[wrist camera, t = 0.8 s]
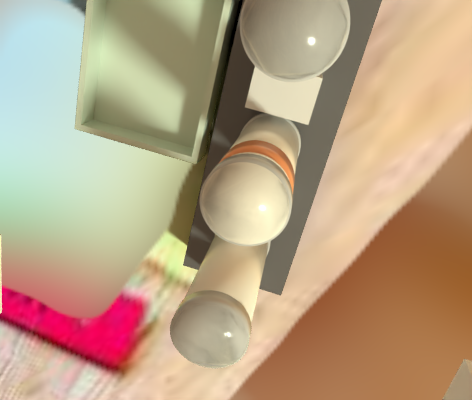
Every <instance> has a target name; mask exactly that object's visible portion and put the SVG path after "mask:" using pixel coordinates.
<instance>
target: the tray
mask: <svg viewBox="0 0 472 400" xmlns="http://www.w3.org/2000/svg"><path fill="white" fill-rule="evenodd" d="M238 5H239V0H87V3H86V14H85V25H84V36H83V46H82V56H81V66H80V78H79V88H78V98H77V109H76V120H75V129H77V130H80V131H83V132H87V133H90V134H94V135H97V136H101V137H104V138H107V139H111V140H114V141H118V142H121V143H125V144H128V145H131V146H135V147H138V148H142V149H145V150H149V151H152V152H156V153H159V154H162V155H166V156H169V157H173V158H177V159H180V160H183V161H186V162H190V163H193V164H197V163H198V162H199V161H200V160H201V159H202V157H203V156H204V155H205V153H206V149H207V144H208V140H209V135H210V131H211V126H212V122H213V117H214V113H215V108H216V104H217V99H218V95H219V90H220V86H221V81H222V77H223V72H224V68H225V63H226V59H227V54H228V50H229V45H230V41H231V36H232V32H233V27H234V23H235V18H236V14H237V9H238Z"/></svg>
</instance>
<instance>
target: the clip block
mask: <svg viewBox="0 0 472 400" xmlns="http://www.w3.org/2000/svg"><path fill="white" fill-rule="evenodd" d="M381 1H382V0H347V2H348V6H349V10H350V30H349V35H348V39H347V42H346V45H345V47H344V49H343V51H342V53H341V54H340V56H339V57H338V59H337V60H336V61H335V62H334V63H333V65H332V66H331V67H329V68H328V69H327V70H326V71H325V72H323V73H322V74H320V75H318V76H316V77H314V78H312V79H309V80H306V81H301V82H284V81H279V80H276V79H273V78H271V77H269V76H267V75H266V74H264V73H263V72H261V71H260V70H259V69H258V68H257V67H256V66H255V65H254V64H253V63H252V62H251V60H250V59H249V57H248V56H247V54H246V52H245V50H244V47H243V44H242V40H241V35H240V17H241V11H242V8H243V5H244V2H245V0H243V2H242V7H241V11H240V15H239V20H238V24H237V29H236V33H235V38H234V42H233V47H232V51H231V55H230V60H229V64H228V69H227V73H226V78H225V82H224V86H223V91H222V95H221V100H220V104H219V109H218V113H217V117H216V122H215V126H214V131H213V135H212V140H211V144H210V148H209V153H208V157H207V162H206V166H205V171H204V175H203V179H202V184H201V188H200V192H201V189H202V186H203V184H204V182H205V180H206V178H207V177H208V176H209V174H210V173H211V171H212V170H213V169H214V168H215V167H216V165H218V163H219V162H220V161H221V159H222V158H223V157H224V155H225V154H226V153H227V152H228V151H229V150H230V148H231V147H232V145H233V144H234V143H235V141H236V140H237V138H238V137H239V136H240V134H241V131H242V129H243V128H244V126H245V125H246V124H247V122H248V121H249V120H250V119H251V118H252V117H254V116H255V115H257V114H259V113H262V112H264V113H267V114H271V115H274V116H278V117H282V118H285V119H289V120H292V121H294V122H295V124H296V125H297V127H298V129H299V131H300V135H301V148H300V153H299V156H298V158H297V165H296V171H295V182H294V189H293V201H292V209H291V214H290V218H289V221H288V223H287V225H286V227H285V228H284V230H283V231H282V232H281V233H280V234H279V235H278V236H277V237H276V238H274V239H273V240H271V244H270V248H269V252H268V254H267V256H266V260H265V265H264V269H263V274H262V278H261V282H260V287H259V289H262V290H265V291H268V292H272V293H275V294H278V295H281V294H282V291H283V288H284V285H285V282H286V279H287V276H288V273H289V270H290V267H291V264H292V261H293V258H294V256H295V253H296V250H297V247H298V244H299V241H300V238H301V235H302V232H303V229H304V226H305V223H306V220H307V218H308V215H309V212H310V209H311V206H312V203H313V200H314V197H315V194H316V191H317V188H318V185H319V182H320V180H321V177H322V174H323V171H324V168H325V165H326V162H327V159H328V156H329V153H330V150H331V147H332V144H333V142H334V139H335V136H336V133H337V130H338V127H339V124H340V121H341V118H342V115H343V112H344V109H345V106H346V104H347V101H348V98H349V95H350V92H351V89H352V86H353V83H354V80H355V77H356V74H357V71H358V68H359V66H360V63H361V60H362V57H363V54H364V51H365V48H366V45H367V42H368V39H369V36H370V33H371V31H372V28H373V25H374V22H375V19H376V16H377V13H378V10H379V7H380V4H381ZM214 237H215V233H214V232H213V231H212V230H211V229H210V228H209V226H208V225H207V224H206V222H205V220H204V218H203V216H202V213H201V209H200V193H199V197H198V202H197V206H196V210H195V215H194V219H193V224H192V228H191V233H190V237H189V242H188V246H187V250H186V255H185V259H184V264H183V265H184V266H187V267H191V268H194V269H197V270H199V268H200V266H201V264H202V262H203V260H204V258H205V256H206V254H207V251H208V249H209V247H210V245H211V243H212V241H213V239H214Z"/></svg>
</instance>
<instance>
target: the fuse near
mask: <svg viewBox="0 0 472 400" xmlns="http://www.w3.org/2000/svg"><path fill="white" fill-rule="evenodd" d="M349 30H350V10H349V6H348V2H347V0H245V2H244V5H243V8H242V11H241V17H240V35H241V40H242V44H243V47H244V50H245V52H246V54H247V56H248V57H249V59H250V60H251V62H252V63H253V64H254V65H255V66H256V67H257V68H258V69H259V70H260V71H261V72H263V73H264V74H266V75H267V76H269V77H271V78H273V79H276V80H279V81H284V82H301V81H306V80H309V79H312V78H314V77H316V76H318V75H320V74H322V73H323V72H325V71H326V70H327V69H328V68H329V67H331V66H332V65H333V63H334V62H335V61H336V60H337V59H338V57H339V56H340V54H341V53H342V51H343V49H344V47H345V45H346V42H347V39H348V35H349Z"/></svg>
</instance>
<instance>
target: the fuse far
mask: <svg viewBox="0 0 472 400" xmlns="http://www.w3.org/2000/svg"><path fill="white" fill-rule="evenodd" d="M270 244H271V241H269V242H267V243H264V244H261V245H257V246H239V245H235V244H232V243H229V242H227V241H225V240H223V239H222V238H220V237H219V236H217V235H216V234H215V237H214V239H213V241H212V243H211V245H210V247H209V249H208V251H207V254H206V256H205V258H204V260H203V262H202V264H201V266H200V268H199V270H198V272H197V274H196V276H195V278H194V280H193V282H192V284H191V286H190V288H189V290H188V292H187V294H186V296H185V298H184V300H183V301H182V302H181V303H180V305H179V307H178V309H177V311H176V313H175V315H174V317H173V319H172V321H171V325H170V335H171V339H172V342H173V344H174V346H175V347H176V349H177V350H178V351H179V353H180V354H181V355H182V356H184V357H185V358H186V359H187V360H189V361H191V362H192V363H194V364H197V365H199V366H202V367H207V368H224V367H228V366H231V365H233V364H235V363H236V362H238V361H239V360H240V359H241V358H242V357H243V356H244V354H245V353H246V350H247V348H248V343H249V339H250V334H251V327H252V326H251V322H252V318H253V313H254V309H255V304H256V300H257V296H258V291H259V287H260V282H261V278H262V274H263V269H264V265H265V260H266V256H267V254H268V252H269V248H270Z"/></svg>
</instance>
